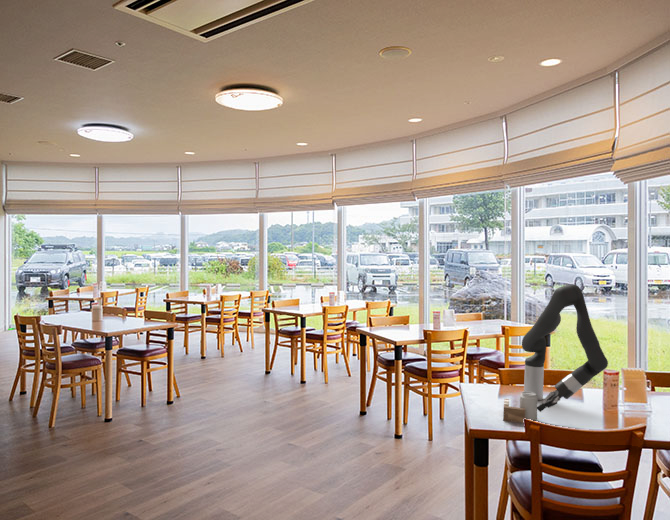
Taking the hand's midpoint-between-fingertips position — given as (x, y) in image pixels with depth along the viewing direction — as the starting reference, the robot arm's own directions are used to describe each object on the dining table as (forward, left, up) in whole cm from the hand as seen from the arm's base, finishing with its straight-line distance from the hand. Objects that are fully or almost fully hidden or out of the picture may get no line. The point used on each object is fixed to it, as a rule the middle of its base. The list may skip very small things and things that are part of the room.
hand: (538, 409), depth 229 cm
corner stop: (0, -10, -5) cm, 11 cm away
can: (0, -4, -5) cm, 7 cm away
